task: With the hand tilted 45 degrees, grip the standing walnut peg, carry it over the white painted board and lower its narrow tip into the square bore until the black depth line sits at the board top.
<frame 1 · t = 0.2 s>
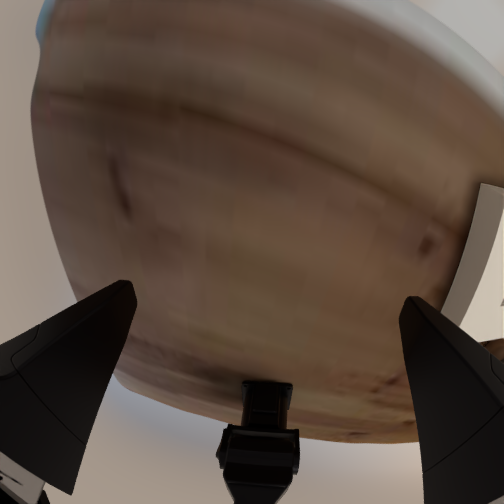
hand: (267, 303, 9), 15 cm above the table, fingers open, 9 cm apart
walnut peg: (492, 346, 28), on the table
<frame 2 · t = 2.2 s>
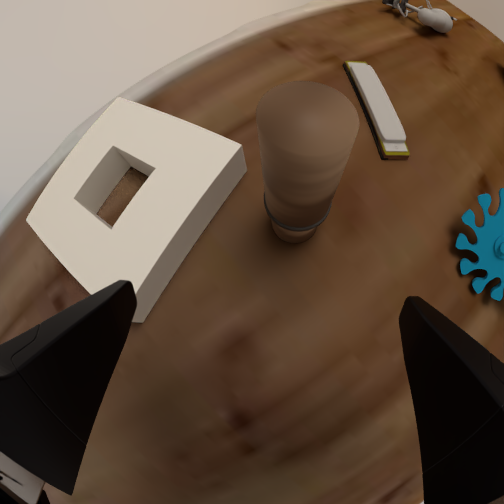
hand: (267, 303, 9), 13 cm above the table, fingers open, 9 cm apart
walnut peg: (294, 221, 23), on the table
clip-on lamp: (422, 21, 32), on the table
gear: (481, 260, 21), on the table
white board: (131, 202, 25), on the table
harmonica: (372, 108, 27), on the table
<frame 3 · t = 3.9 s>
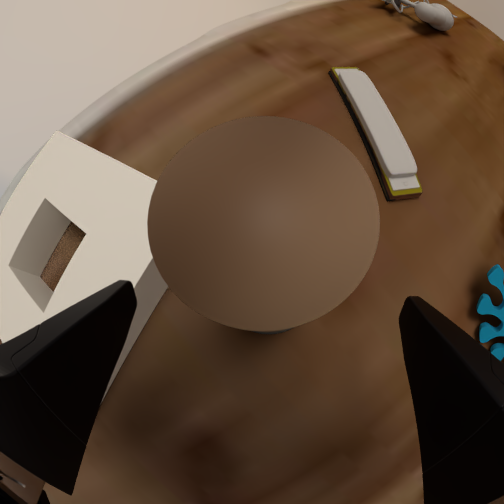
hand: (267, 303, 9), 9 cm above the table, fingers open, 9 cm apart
walnut peg: (269, 296, 18), on the table
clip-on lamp: (419, 18, 28), on the table
gear: (502, 319, 16), on the table
white board: (73, 265, 19), on the table
harmonica: (369, 128, 21), on the table
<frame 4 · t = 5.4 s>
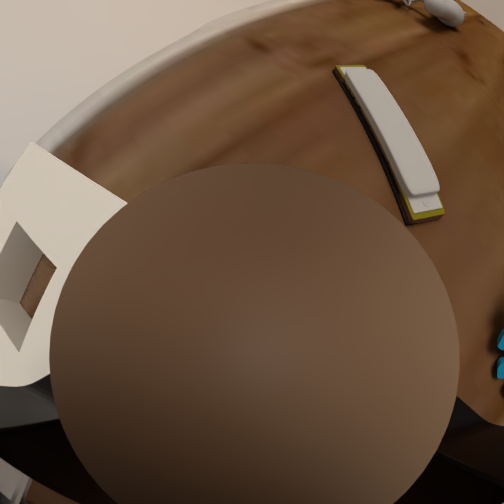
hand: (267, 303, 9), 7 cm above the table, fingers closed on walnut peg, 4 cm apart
walnut peg: (268, 340, 15), on the table, touching gripper
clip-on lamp: (428, 13, 25), on the table
white board: (52, 293, 16), on the table
harmonica: (382, 136, 19), on the table
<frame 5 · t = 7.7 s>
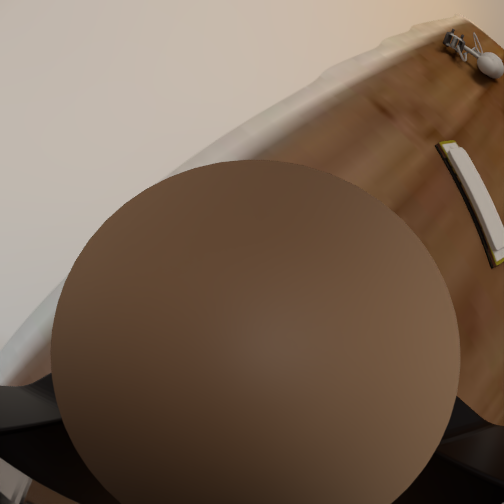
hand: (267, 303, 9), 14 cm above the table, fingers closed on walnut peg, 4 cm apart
walnut peg: (268, 340, 15), point 7 cm above the table, touching gripper
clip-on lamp: (473, 62, 30), on the table
harmonica: (470, 203, 24), on the table
when the fingers open (9 cm above the table, at t = 10.0 s): walnut peg drops 2 cm, resting in white board.
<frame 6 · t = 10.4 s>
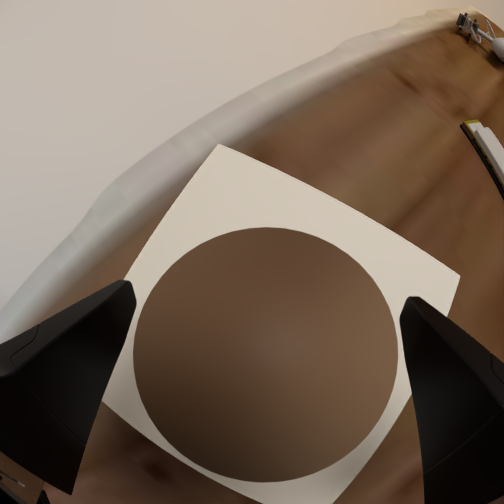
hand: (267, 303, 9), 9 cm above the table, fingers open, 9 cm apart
walnut peg: (268, 340, 17), resting in white board
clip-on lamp: (486, 47, 26), on the table
white board: (268, 339, 17), on the table
harmonica: (501, 188, 19), on the table
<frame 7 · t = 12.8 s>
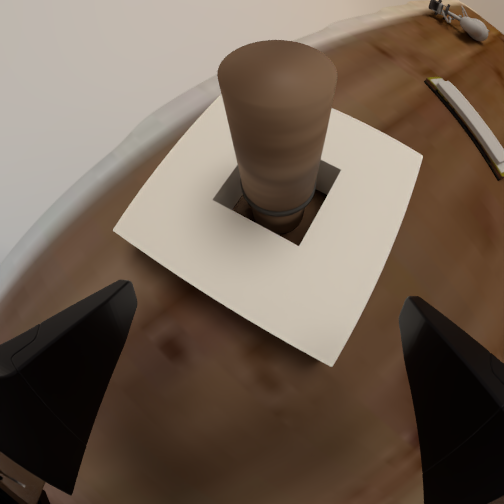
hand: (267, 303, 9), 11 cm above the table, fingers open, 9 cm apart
walnut peg: (278, 210, 21), resting in white board
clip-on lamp: (460, 28, 31), on the table
white board: (278, 209, 21), on the table
harmonica: (466, 127, 23), on the table
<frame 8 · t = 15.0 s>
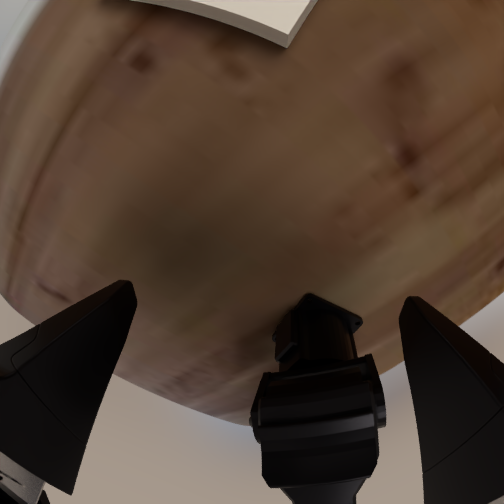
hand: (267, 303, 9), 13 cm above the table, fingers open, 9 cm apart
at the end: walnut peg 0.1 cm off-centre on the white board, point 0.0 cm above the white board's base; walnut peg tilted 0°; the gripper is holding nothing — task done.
